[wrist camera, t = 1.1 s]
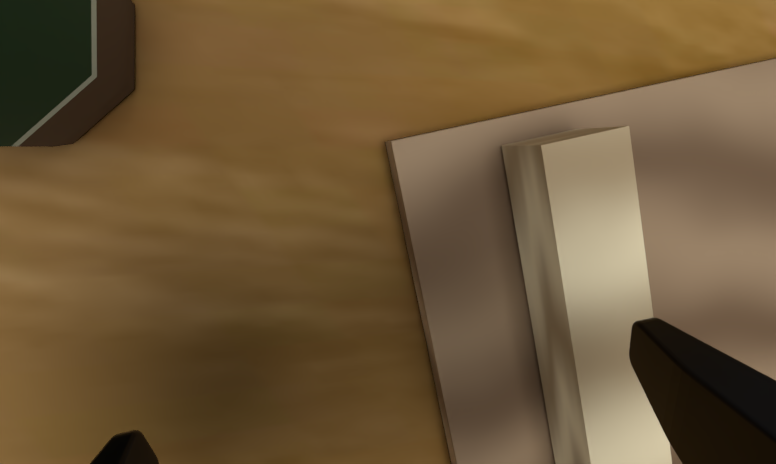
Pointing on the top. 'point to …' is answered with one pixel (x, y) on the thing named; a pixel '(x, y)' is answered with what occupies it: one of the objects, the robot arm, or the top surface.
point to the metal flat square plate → (660, 233)
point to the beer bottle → (62, 67)
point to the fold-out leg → (586, 291)
